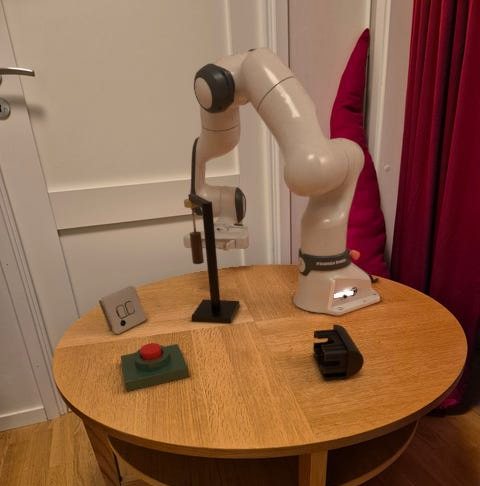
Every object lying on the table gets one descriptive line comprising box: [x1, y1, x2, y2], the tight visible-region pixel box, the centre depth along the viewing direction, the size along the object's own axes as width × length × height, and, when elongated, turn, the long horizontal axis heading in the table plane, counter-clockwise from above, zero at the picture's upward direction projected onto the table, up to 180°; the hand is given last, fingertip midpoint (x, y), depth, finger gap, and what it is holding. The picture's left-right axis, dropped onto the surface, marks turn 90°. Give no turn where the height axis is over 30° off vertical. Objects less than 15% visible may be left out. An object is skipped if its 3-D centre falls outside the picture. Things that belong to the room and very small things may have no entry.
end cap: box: [312, 324, 364, 382], centre depth 79 cm, size 10×7×7 cm
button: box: [139, 342, 162, 360], centre depth 80 cm, size 4×4×2 cm
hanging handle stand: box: [183, 193, 241, 324], centre depth 101 cm, size 14×17×28 cm
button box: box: [120, 343, 190, 392], centre depth 82 cm, size 12×10×4 cm
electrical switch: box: [98, 285, 147, 335], centre depth 99 cm, size 9×5×9 cm, turn 141°
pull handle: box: [189, 209, 205, 265], centre depth 106 cm, size 3×3×14 cm
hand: (209, 247), depth 119 cm, fingers open, 8 cm apart
